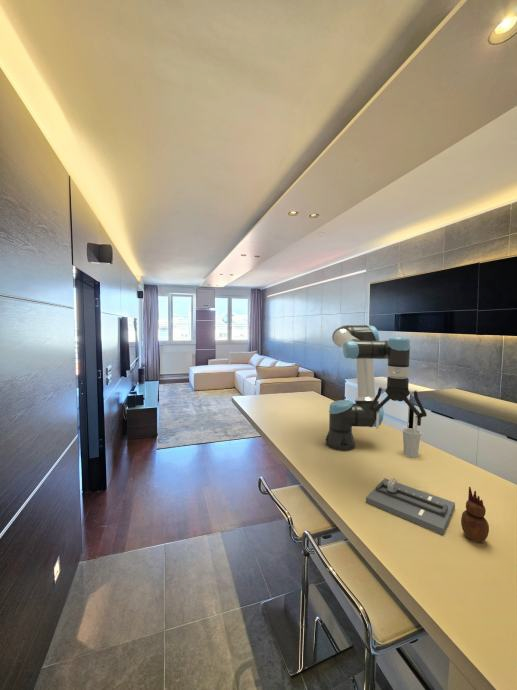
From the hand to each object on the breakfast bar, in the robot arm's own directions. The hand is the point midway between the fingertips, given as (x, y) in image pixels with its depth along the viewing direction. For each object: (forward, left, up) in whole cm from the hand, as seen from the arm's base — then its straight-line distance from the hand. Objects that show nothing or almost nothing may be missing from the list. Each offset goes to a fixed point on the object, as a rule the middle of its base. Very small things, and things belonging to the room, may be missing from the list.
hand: (396, 430), depth 116 cm
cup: (-4, +34, -23) cm, 41 cm away
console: (+8, -10, -22) cm, 26 cm away
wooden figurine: (+27, -14, -23) cm, 38 cm away
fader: (+2, -10, -20) cm, 23 cm away
